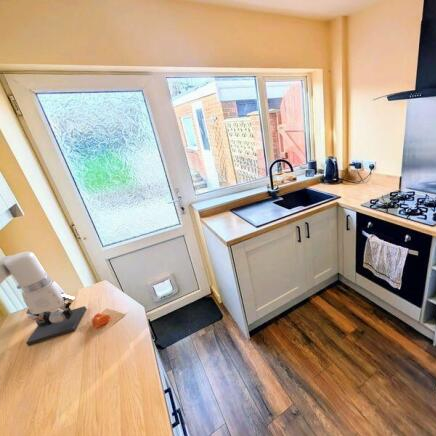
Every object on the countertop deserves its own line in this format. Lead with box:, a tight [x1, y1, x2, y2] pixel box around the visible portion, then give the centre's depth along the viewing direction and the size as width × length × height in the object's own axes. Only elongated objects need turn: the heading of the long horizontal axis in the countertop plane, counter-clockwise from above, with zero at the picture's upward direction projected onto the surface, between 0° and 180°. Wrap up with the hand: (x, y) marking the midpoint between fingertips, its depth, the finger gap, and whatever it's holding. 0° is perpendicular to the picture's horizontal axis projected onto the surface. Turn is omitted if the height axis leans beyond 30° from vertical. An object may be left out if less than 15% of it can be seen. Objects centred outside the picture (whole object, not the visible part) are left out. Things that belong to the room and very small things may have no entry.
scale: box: [25, 306, 87, 347], centre depth 100 cm, size 15×14×4 cm
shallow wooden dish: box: [77, 308, 126, 338], centre depth 99 cm, size 12×12×4 cm
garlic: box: [49, 308, 66, 323], centre depth 97 cm, size 6×5×5 cm
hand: (60, 319), depth 98 cm, fingers closed on garlic, 5 cm apart
